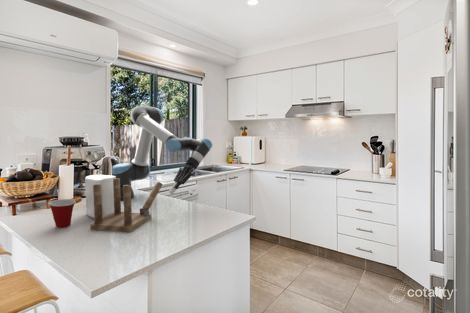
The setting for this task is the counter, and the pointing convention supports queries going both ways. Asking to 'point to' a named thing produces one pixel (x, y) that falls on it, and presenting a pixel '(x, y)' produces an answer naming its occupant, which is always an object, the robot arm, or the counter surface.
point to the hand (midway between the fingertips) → (170, 192)
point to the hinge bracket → (144, 212)
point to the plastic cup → (62, 212)
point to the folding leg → (152, 196)
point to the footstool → (116, 211)
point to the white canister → (106, 194)
